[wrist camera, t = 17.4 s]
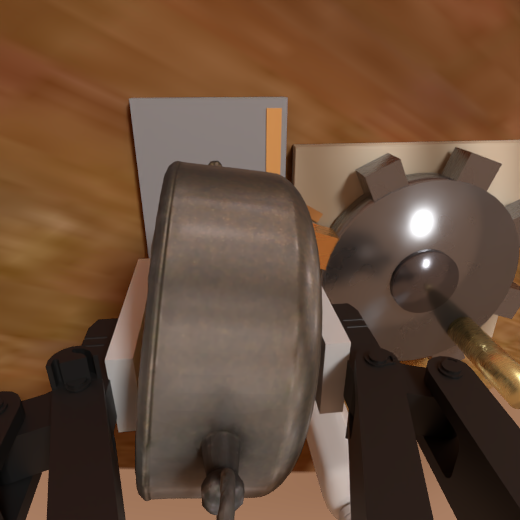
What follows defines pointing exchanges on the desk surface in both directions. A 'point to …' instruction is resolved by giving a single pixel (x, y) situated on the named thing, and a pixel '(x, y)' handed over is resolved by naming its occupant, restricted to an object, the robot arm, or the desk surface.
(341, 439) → the eye dropper bottle
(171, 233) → the alarm clock
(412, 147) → the plate
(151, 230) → the pad
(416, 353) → the sprocket
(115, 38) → the desk surface
